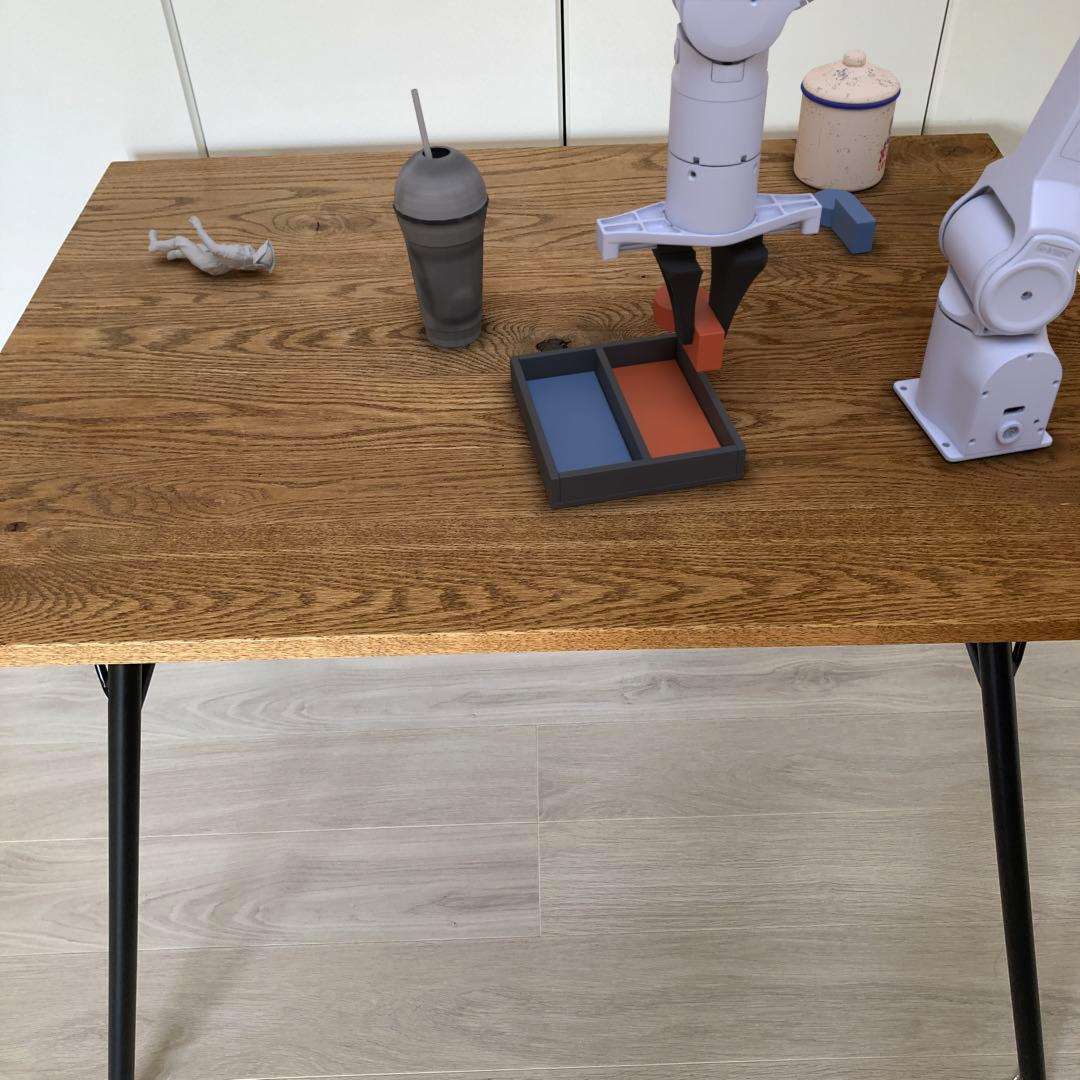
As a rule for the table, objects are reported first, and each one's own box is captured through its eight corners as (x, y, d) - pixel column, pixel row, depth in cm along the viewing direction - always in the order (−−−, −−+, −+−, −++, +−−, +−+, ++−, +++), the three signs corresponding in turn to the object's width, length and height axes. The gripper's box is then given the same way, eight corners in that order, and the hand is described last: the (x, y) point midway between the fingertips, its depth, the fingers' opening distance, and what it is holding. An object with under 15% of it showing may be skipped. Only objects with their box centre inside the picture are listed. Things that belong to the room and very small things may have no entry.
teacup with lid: (899, 190, 112) (921, 67, 105) (805, 198, 112) (821, 75, 104) (858, 137, 121) (876, 20, 113) (771, 145, 121) (784, 27, 113)
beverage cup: (486, 361, 94) (467, 114, 80) (398, 353, 95) (365, 108, 81) (506, 312, 99) (492, 72, 85) (422, 305, 100) (395, 68, 86)
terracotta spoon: (737, 366, 81) (741, 329, 79) (681, 374, 81) (683, 337, 79) (699, 300, 88) (701, 264, 86) (647, 307, 87) (648, 271, 85)
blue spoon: (883, 250, 104) (889, 219, 102) (840, 256, 104) (845, 225, 102) (844, 204, 111) (848, 174, 109) (803, 209, 110) (807, 179, 108)
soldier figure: (197, 250, 110) (300, 228, 105) (195, 301, 110) (299, 281, 104) (134, 222, 103) (241, 197, 98) (132, 276, 103) (239, 254, 97)
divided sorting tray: (743, 479, 82) (746, 448, 80) (552, 509, 80) (551, 479, 78) (680, 360, 93) (682, 331, 91) (511, 385, 91) (509, 355, 89)
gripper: (803, 108, 76) (780, 292, 86) (585, 132, 75) (585, 317, 84) (845, 154, 71) (815, 344, 81) (612, 182, 70) (609, 373, 79)
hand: (700, 334), depth 82 cm, fingers closed on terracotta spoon, 2 cm apart
